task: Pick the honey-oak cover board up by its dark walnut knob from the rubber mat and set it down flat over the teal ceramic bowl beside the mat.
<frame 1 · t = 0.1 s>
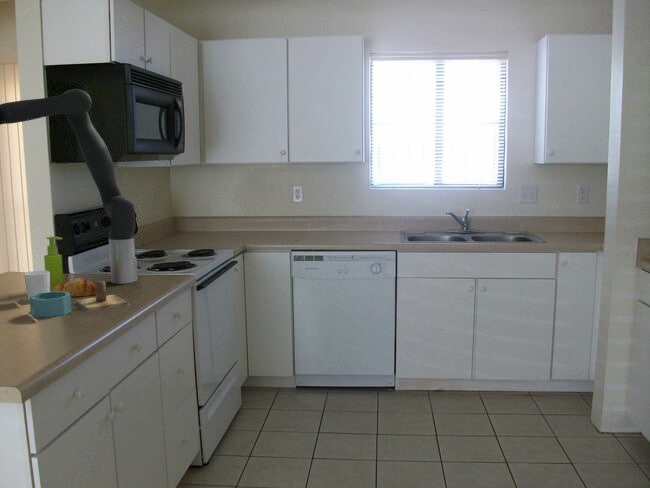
white cup: (39, 301, 210), on the table
lid: (101, 303, 204), point 1 cm above the table, touching mat
soap dispenser: (56, 291, 225), on the table
mat: (101, 305, 204), on the table
bowl: (51, 313, 193), on the table
croissant: (77, 296, 218), on the table
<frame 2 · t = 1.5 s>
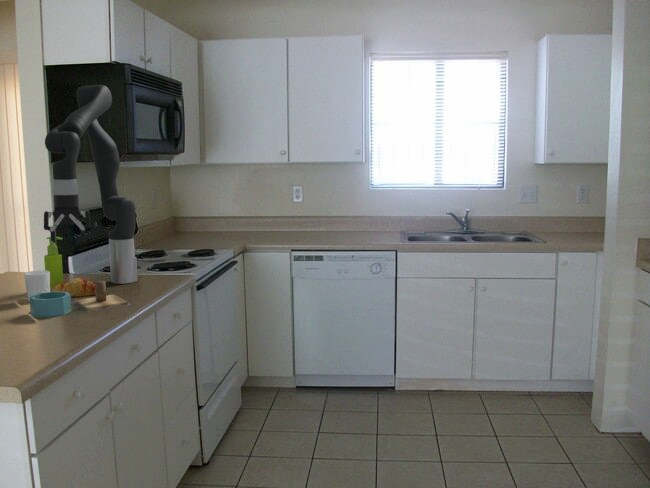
hand: (68, 242, 203), 21 cm above the table, fingers open, 8 cm apart
nothing on the table moved.
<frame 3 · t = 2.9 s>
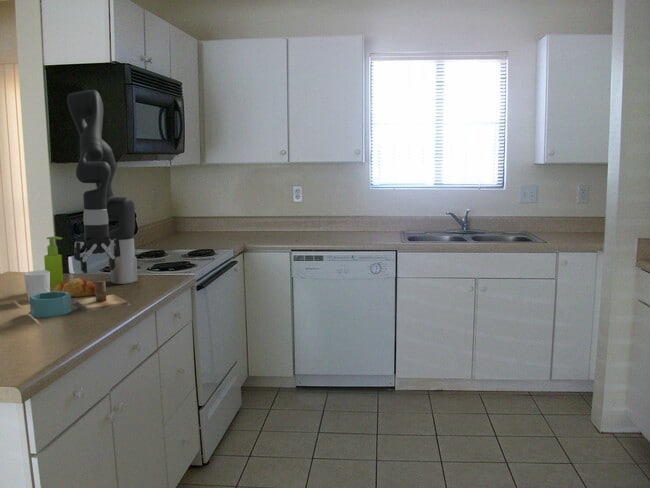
hand: (98, 271, 202), 12 cm above the table, fingers open, 8 cm apart
nothing on the table moved.
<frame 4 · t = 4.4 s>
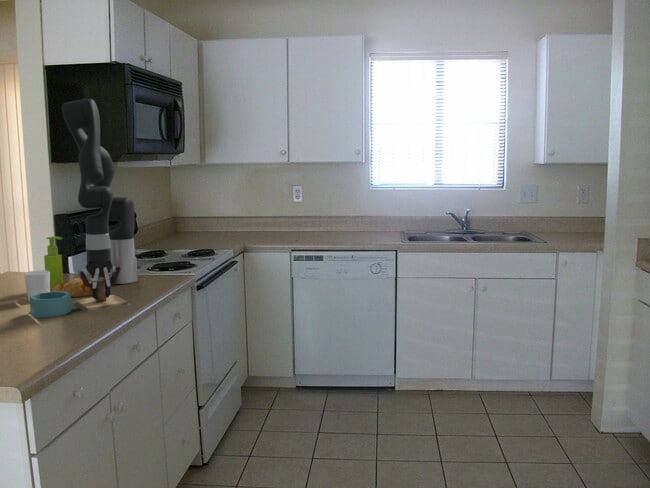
hand: (101, 297, 204), 3 cm above the table, fingers closed on lid, 3 cm apart
lid: (101, 303, 204), point 1 cm above the table, touching gripper, mat
everything else where it was.
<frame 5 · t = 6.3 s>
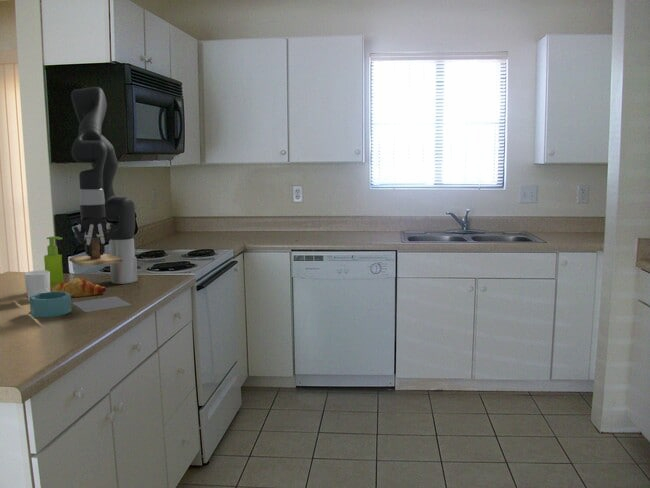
hand: (95, 255, 200), 17 cm above the table, fingers closed on lid, 3 cm apart
lid: (95, 261, 201), point 15 cm above the table, touching gripper
everything else where it was.
when the fingers open (9 cm above the table, at t = 8.5 s): lid drops 1 cm, resting on bowl.
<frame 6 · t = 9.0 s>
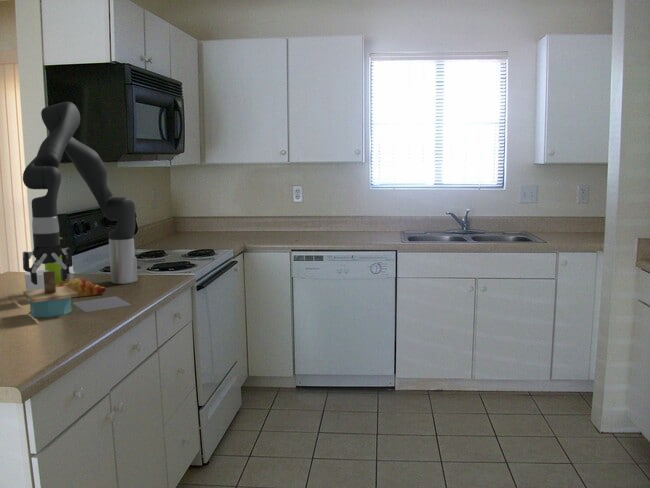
hand: (49, 282, 192), 10 cm above the table, fingers open, 8 cm apart
lid: (50, 295, 193), point 6 cm above the table, touching bowl
everything else where it was.
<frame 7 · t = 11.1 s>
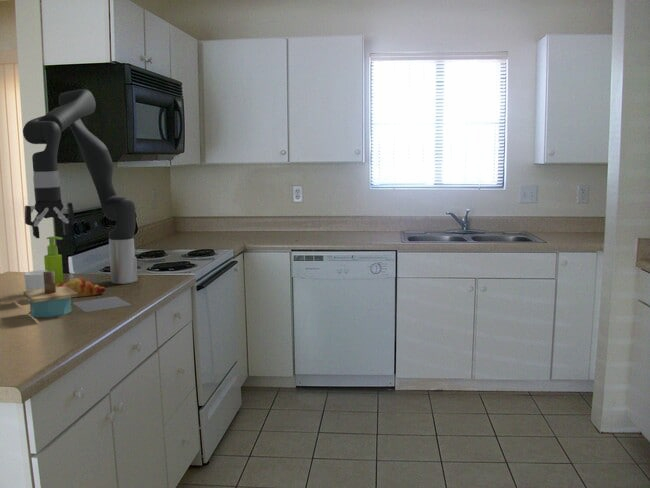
hand: (51, 236, 195), 24 cm above the table, fingers open, 8 cm apart
nothing on the table moved.
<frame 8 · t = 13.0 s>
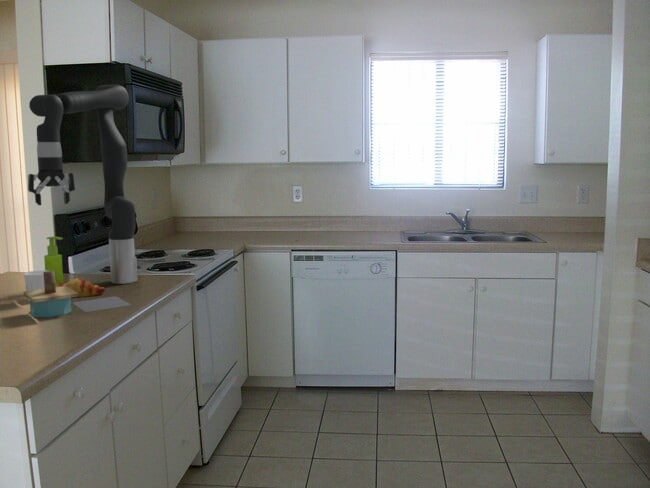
hand: (52, 204, 207), 33 cm above the table, fingers open, 8 cm apart
nothing on the table moved.
at the end: lid 0.1 cm off-centre on the bowl, point 6.0 cm above the bowl's base; lid tilted 0°; the gripper is holding nothing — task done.
